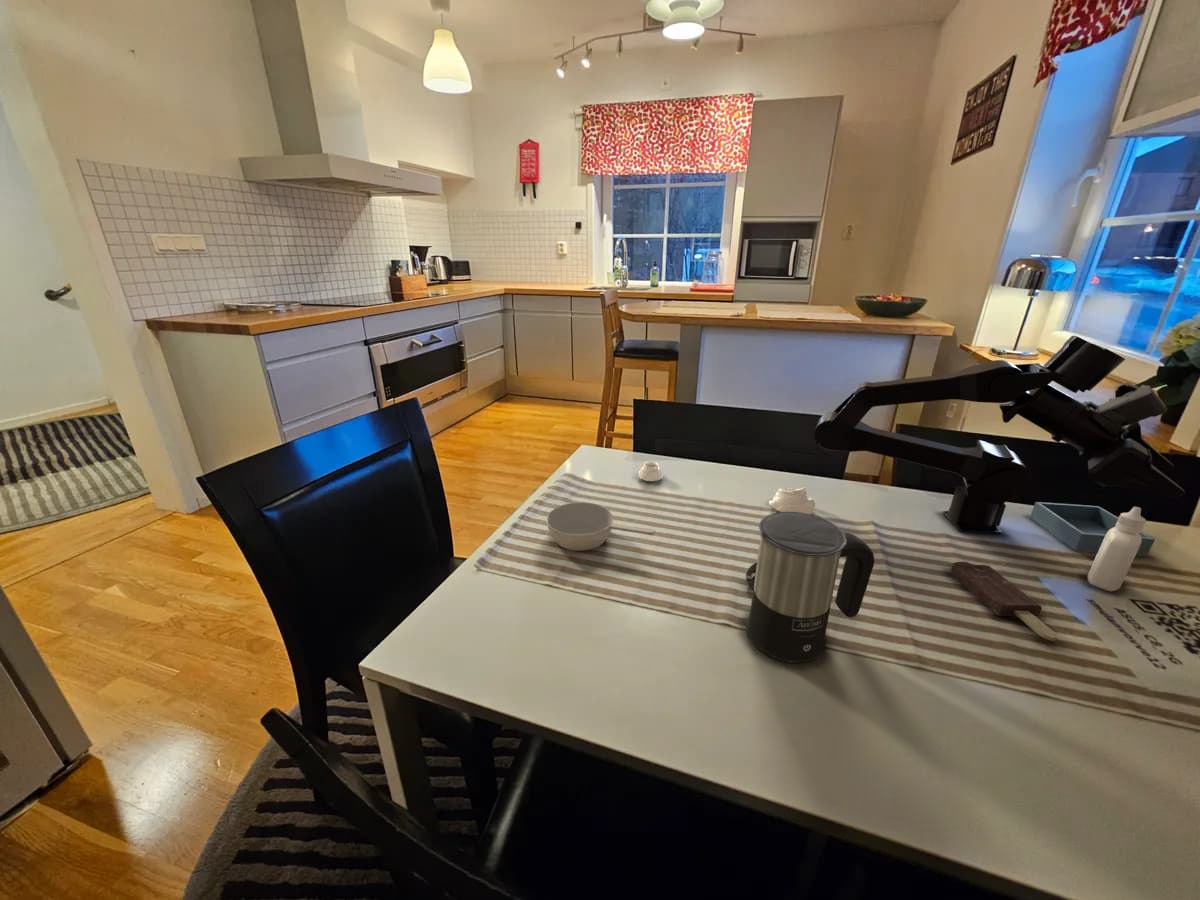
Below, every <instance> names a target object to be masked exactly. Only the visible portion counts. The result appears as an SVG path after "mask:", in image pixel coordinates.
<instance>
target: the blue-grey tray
mask: <svg viewBox="0 0 1200 900" xmlns="http://www.w3.org/2000/svg"><path fill="white" fill-rule="evenodd" d="M1029 518H1030V519H1031V520H1033V521H1034V522H1036V524H1038V525H1040V527H1042V528H1043V529H1045V530H1046V531H1048V532H1049V533H1051V534H1052V535H1053V536H1055V537H1056V539H1058V540H1060V541H1061V542H1062V543H1064V544H1066V546H1068V547H1069V548H1071V549H1072V550H1074V551H1076V552H1088V553H1098V551H1099V549H1100V546H1101V544H1102V542H1103V540H1104V537H1105V535H1106V533H1107V532H1108V531H1109V530H1110V529H1111V528H1114V527H1115V525H1116V523H1117V521H1118V518H1119V517H1118V516H1116V515H1114V514H1113V513H1111V512H1110V511H1108V510H1106V509H1104V508H1103V507H1101V506H1099V505H1087V504H1086V505H1085V504H1084V505H1083V504H1073V503H1071V504H1070V503H1057V502H1056V503H1055V502H1043V501H1035V503H1034V505H1033V507H1032V510H1031V513H1030V515H1029ZM1139 534H1140V536H1141V539H1142V542H1141V545H1140V547H1139V549H1138V551H1137V553H1136V555H1135V557H1137V556H1138V557H1148V555H1149V553H1150V551H1151V549H1152V546H1153V545H1154V542H1155V541H1156V539H1155V538H1153V537H1151V536H1150V535H1148V534H1147V533H1146V532H1143V531H1142V530H1141V532H1140V533H1139Z"/></svg>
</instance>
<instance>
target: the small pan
mask: <svg viewBox="0 0 1200 900" xmlns="http://www.w3.org/2000/svg"><path fill="white" fill-rule="evenodd" d="M546 523H547V525H546V526H547V530H548V533H549V534H550V536H551V537H552V538H553V539H554V541H555V543H556V544H557V545H558V546H559V547H561V548H563V549H566V550H570V551H581V552H582V551H589V550H593V549H596V548H598V547H600V546H601V545H603V544H604V542H605V541H606V539H607V538H608V537H609V535H610V533H611V531H612V530H617V531H622V532H628V533H634V534H641V535H647V536H653V535H655V534H656V530H655V529H653V528H646V527H639V526H634V525H627V524H620V523H614V516H613V514H612V512H611V511H610V510H609V509H608V508H606V507H604V506H602V505H600V504H596V503H591V502H583V501H582V502H580V501H579V502H570V503H565V504H561V505H559V506H556V507H555V508H553V509H552V510H551V511H549V513H548V514H547V516H546Z"/></svg>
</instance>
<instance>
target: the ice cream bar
mask: <svg viewBox="0 0 1200 900" xmlns="http://www.w3.org/2000/svg"><path fill="white" fill-rule="evenodd" d="M949 571H950V575H951V576H952V577H953V578H954V580H956V581H958V582H959V583H960V584H961V585H962V586H963V587H964V588H965V589H966V590H967V591H969V593H971V594H972V595H973V596H974V597H976V598H977V600H979V601H980V602H981V603H983V604H984V605H985V606H986V607H987V608H988V609H989V610H990V611H992V613H994V614H995V615H996V616H998V617H1015V616H1016V617H1017V618H1018V619H1020V620H1021V621H1022V622H1023V623H1024V624H1025V625H1027V626H1028V627H1029V628H1031V629H1032V631H1034V632H1035V633H1037V635H1039V636H1040V637H1041V638H1043V639H1044V640H1046V641H1047V640H1048V641H1051V642H1055V641H1057V639H1058V634H1057V633H1056V632H1055V631H1054V630H1053V629H1052V628H1050V627H1049V626H1048V625H1046V624H1045V623H1044V622H1043V621H1042V620H1040V619H1039V618H1038V617H1039V616H1040V615H1041V612H1042V609H1043V607H1042V606H1041V604H1039V603H1038V602H1037V601H1036V600H1034V599H1033V598H1032V597H1030V596H1029V595H1028V594H1026V593H1025V592H1024V591H1022V590H1021V589H1020V588H1019V587H1017V586H1016V585H1015V584H1013V583H1012V582H1011V581H1009V580H1008V579H1007V578H1006V577H1005V576H1003V575H1001V573H999V572H998V571H996V570H995V569H994V568H993V567H991V566H990V565H987V564H974V563H971V562H968V561H955V562H953V563H952V564H951V567H950V570H949ZM1037 616H1038V617H1037Z"/></svg>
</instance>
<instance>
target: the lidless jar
mask: <svg viewBox="0 0 1200 900" xmlns="http://www.w3.org/2000/svg"><path fill="white" fill-rule="evenodd" d="M663 477H664V476H663V472H662V469H661V468H660V466H659V463H657V462H654V461H646V462H645V463H643V466H641V468H640V470H639V471H638V478H640V479H641V480H643V481H646V482H656V481H660V480H662V479H663Z"/></svg>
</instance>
